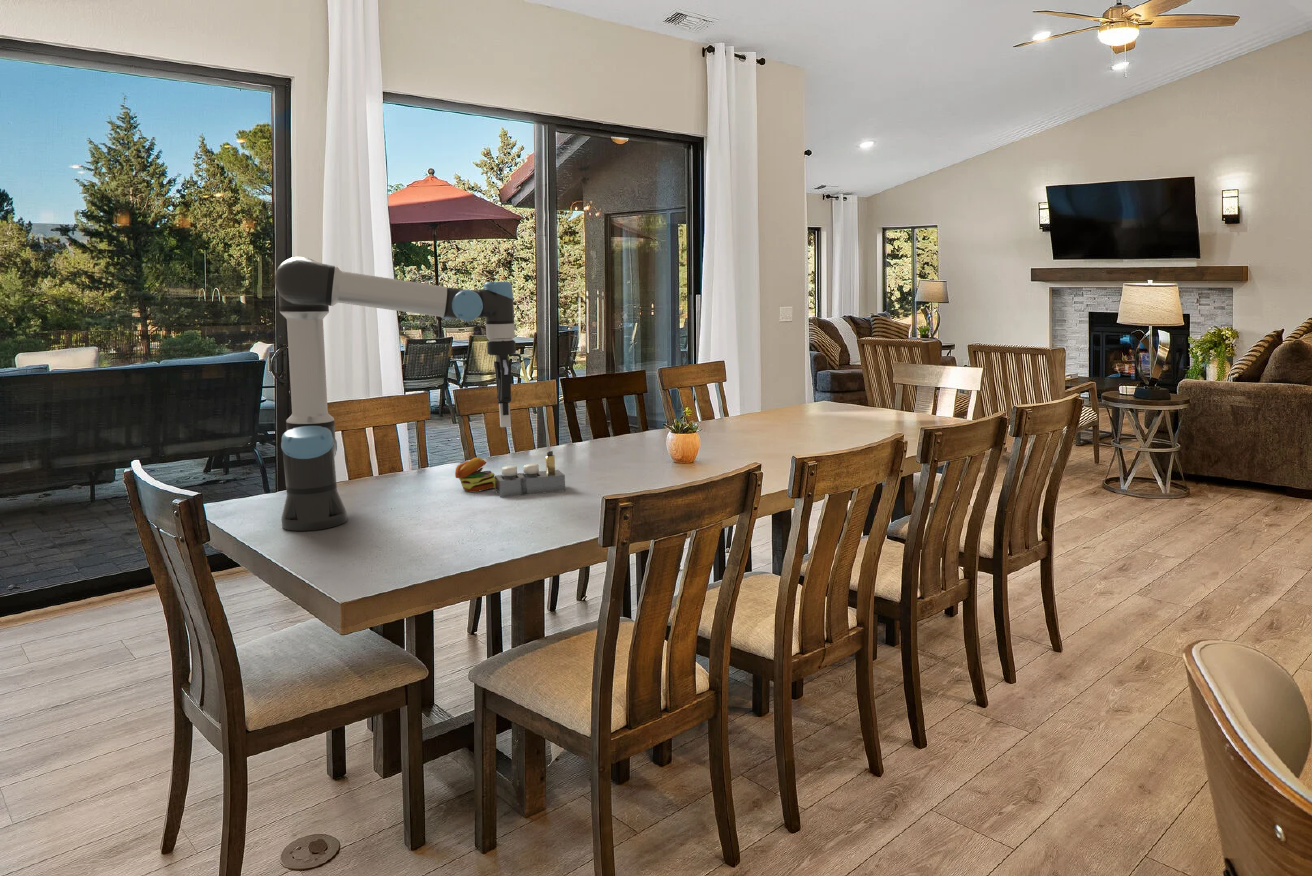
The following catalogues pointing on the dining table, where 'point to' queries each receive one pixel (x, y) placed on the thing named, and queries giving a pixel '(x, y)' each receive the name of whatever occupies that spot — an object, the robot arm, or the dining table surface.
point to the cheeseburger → (475, 475)
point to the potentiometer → (550, 463)
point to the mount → (530, 484)
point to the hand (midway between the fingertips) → (505, 426)
